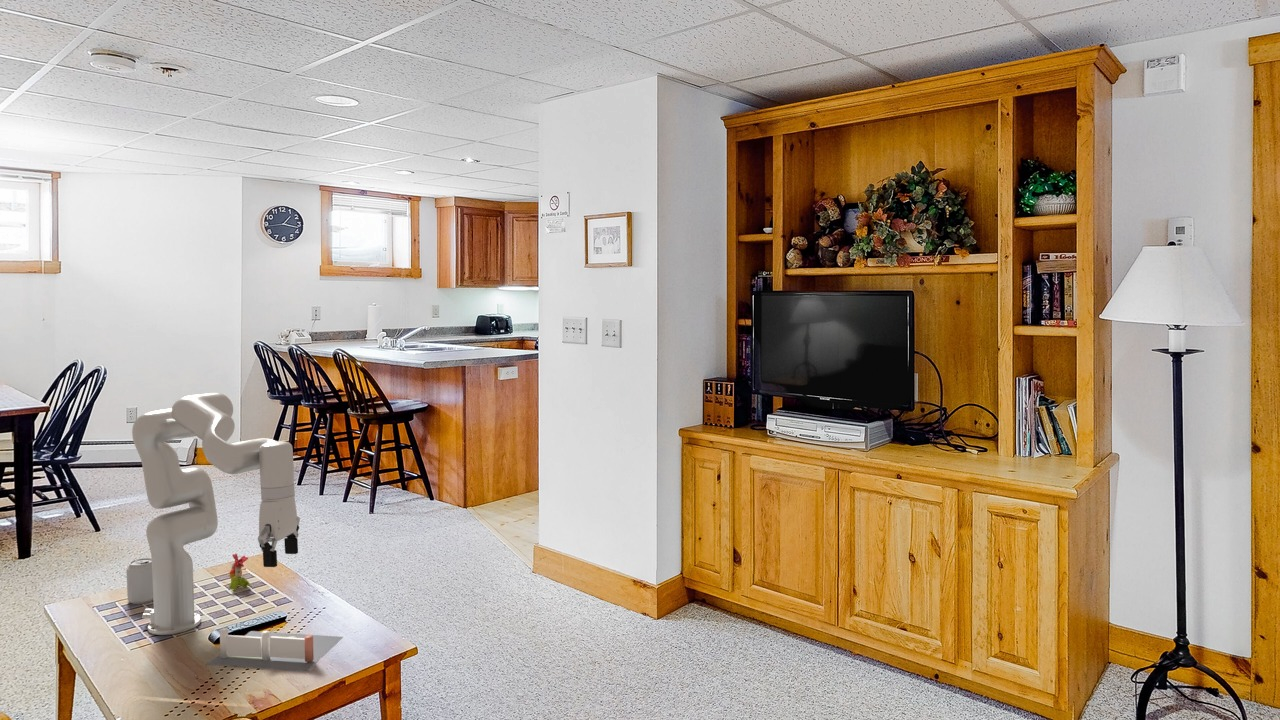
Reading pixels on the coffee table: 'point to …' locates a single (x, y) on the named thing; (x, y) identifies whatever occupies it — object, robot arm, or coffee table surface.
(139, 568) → the can
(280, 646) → the fence swing section
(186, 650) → the coffee table surface
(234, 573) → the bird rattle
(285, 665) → the card
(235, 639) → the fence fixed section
